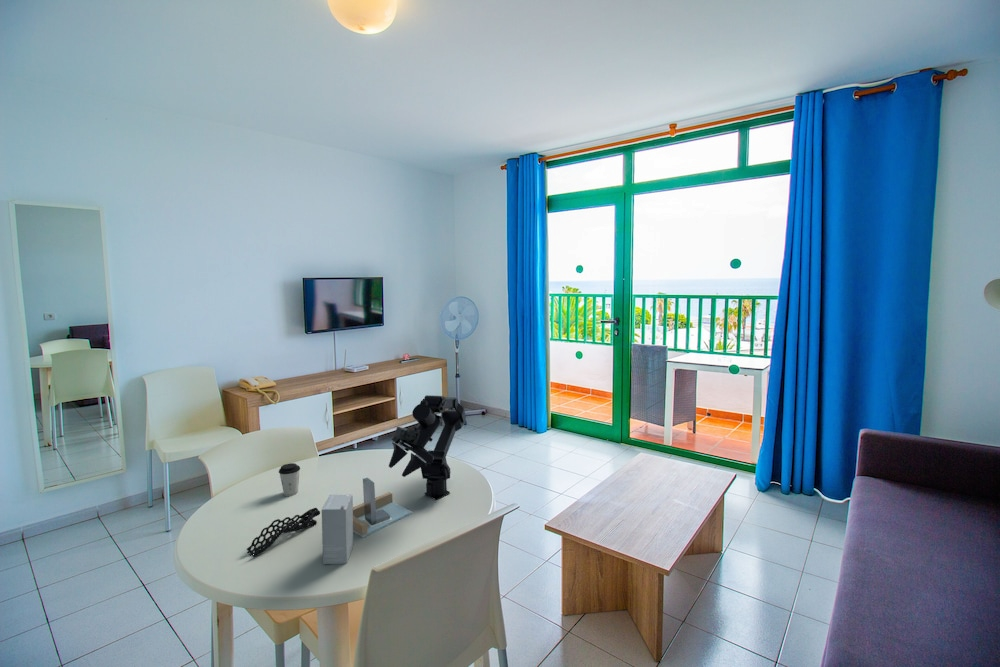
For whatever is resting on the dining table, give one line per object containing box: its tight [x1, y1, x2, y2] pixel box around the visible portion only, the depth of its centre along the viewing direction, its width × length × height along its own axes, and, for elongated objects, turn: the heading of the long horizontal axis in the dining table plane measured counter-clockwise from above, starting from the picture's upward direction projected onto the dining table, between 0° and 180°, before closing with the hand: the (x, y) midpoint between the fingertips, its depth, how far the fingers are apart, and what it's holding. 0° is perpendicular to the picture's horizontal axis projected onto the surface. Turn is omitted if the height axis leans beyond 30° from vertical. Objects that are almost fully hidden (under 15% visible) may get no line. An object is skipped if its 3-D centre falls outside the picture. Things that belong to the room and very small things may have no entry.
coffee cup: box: [278, 462, 301, 497], centre depth 163 cm, size 7×7×10 cm
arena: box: [353, 491, 413, 538], centre depth 144 cm, size 18×12×4 cm, turn 139°
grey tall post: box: [362, 477, 390, 525], centre depth 142 cm, size 6×5×13 cm
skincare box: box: [320, 493, 354, 565], centre depth 124 cm, size 8×7×16 cm
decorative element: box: [246, 507, 321, 558], centre depth 135 cm, size 22×5×6 cm, turn 152°
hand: (396, 471), depth 147 cm, fingers open, 9 cm apart
